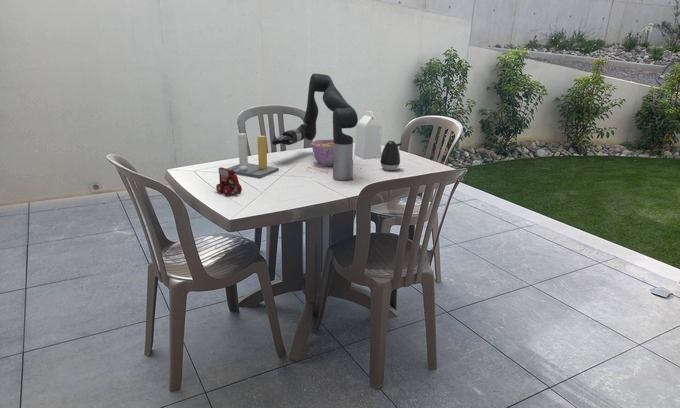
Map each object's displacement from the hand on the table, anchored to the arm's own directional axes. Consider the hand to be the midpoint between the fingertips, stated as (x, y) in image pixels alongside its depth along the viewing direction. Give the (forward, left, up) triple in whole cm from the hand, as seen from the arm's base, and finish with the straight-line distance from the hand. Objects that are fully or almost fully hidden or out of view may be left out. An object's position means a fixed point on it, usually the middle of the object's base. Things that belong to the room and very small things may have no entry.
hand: (273, 142), depth 224 cm
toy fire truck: (+16, +43, -13) cm, 48 cm away
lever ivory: (+15, +3, -11) cm, 19 cm away
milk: (-52, -25, -13) cm, 59 cm away
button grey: (+14, +13, -11) cm, 22 cm away
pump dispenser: (-60, +5, -13) cm, 62 cm away
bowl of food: (-29, -6, -13) cm, 33 cm away
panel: (+11, +9, -13) cm, 19 cm away
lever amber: (+5, +9, -11) cm, 15 cm away
